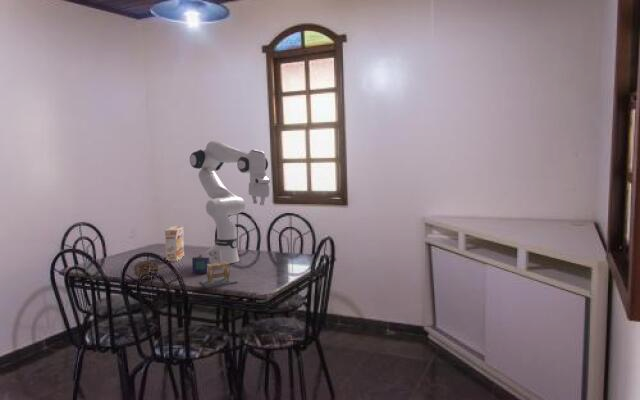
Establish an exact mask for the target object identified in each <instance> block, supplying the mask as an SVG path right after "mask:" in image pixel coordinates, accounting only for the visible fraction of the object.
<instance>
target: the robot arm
mask: <svg viewBox="0 0 640 400" xmlns="http://www.w3.org/2000/svg"><path fill="white" fill-rule="evenodd" d="M189 163H190V165H191V167H192V168H193V169H198V170H199V169H200V170H199V172H198V178H199V181H200V183H201V185H202V187H203V189H204V191H205V192H206V194H207V196H208V197H209V198H210V200H208V201H207V202H206V205H205V211H206V214H207V215H208V216H209V217H211V218H212V220H213V221H214V222H215V225H216V234H217V235H216V236H217V238H216V239H214V240H213V242H215V244H214V245H213V246H212V247H211V248H209V249H208V250H207V251H206V257H209V262H210V263H209V264H211V263H218V262H225V261H226V262H228V263H229V264H235V263H238V262H240V257H239V254H238V238H237V229H236V228H237V227H236V226H237V225H236V224H235V223H234V222H233V221H230V217H229V216H232V215H237V214H240V213H242V212H244V211H245V209H246V203H245V200H244V198H242V197H240V196H238V195H235V193H233V192H231V191H230V190H229V189H228V188H227V187H226V186H225V185H224V183H223V182H222V180H221V178H220V177H219V176H218V174H217V172H216V171H219V170H221V168H222V166H223V165H224V163H226V164H228V163H232V164H234V163H237V169H238V170H239V172H240V173H242V174H249V183H248V195H249V196H251V198H252V202H253V203H252V204H255V205H257V204H258V200H257V197H259V198H260V202H259V206H264V205H265V200H266V198H269V196H270V183H271V182H270V179H269V178H268V176H267V172H266V171H267V169H268V167H269V161H268V158H267V157H266V154H265V152H264V151H263V150H261V149H251V150H250V151H249V152H246V151H243V150H240V149H238V148H235V147H233V146H231V145H229V144H227V143H224V142H221V141H217V140H211V141H209V142H208V143H207V144H206V146H205V149H204V150H202V149H199V150H197V151H194V152H192V153H191V154H190V155H189Z"/></svg>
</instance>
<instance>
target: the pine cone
mask: <svg viewBox="0 0 640 400" xmlns="http://www.w3.org/2000/svg"><path fill="white" fill-rule="evenodd" d="M149 262H150V269H151V272H154V273H156V274H157V275H158V273H159V271H160V270H161V271H162V270H164V269H166V268H168V267H167V266H166V265H167V264H165V265H163V266H161V267H159V265H157V264H156V262H153V261H148V260H147V259H146V260H144V261H143V260H141V261H140V262H138V263H136V264H135V265H134V266H133V272H134V274H133V275H134V276H137V278H140V276H141V275H143V274H145V273H147V272H149ZM143 279H146V280H147V279H151V277H150V276H146V277H144V278H143ZM143 279H142V280H143Z"/></svg>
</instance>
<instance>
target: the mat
mask: <svg viewBox="0 0 640 400" xmlns="http://www.w3.org/2000/svg"><path fill="white" fill-rule="evenodd" d="M199 283H200V284H201V285H202V286H204V287H205V288H206V289H207V288H215V287H218V286H219V287H221V286H225V285H227V286H228V285H233V284H237V283H238V280H236V279H235V278H233V277H231V276H230V281H227V279H224V277H219V278H213V284H210V282H208V281H207V279H203V280H199Z"/></svg>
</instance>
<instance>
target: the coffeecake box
mask: <svg viewBox="0 0 640 400" xmlns="http://www.w3.org/2000/svg"><path fill="white" fill-rule="evenodd" d="M164 235H165V237H164V238H165V239H164V240H165V261H166V260H168V261H170V262H169V263H171V262H172V263H173V262H176V261H177V262H178V260H179V261H180V260H181V259H183V258H184V257H185V240H184V226H183V225H182V226H180V225H179V226H178V225H176V226H175V225H174V226H173V225H172V226H170V227H169V228H166V229H165V230H164ZM183 256H184V257H183ZM182 257H183V258H182ZM177 262H176V263H177Z"/></svg>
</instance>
